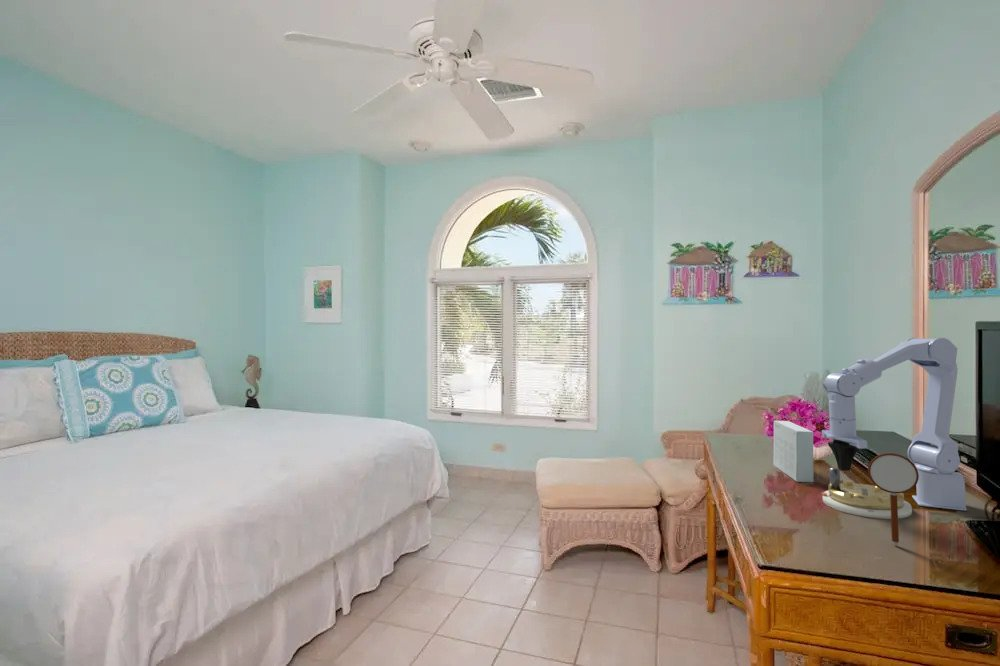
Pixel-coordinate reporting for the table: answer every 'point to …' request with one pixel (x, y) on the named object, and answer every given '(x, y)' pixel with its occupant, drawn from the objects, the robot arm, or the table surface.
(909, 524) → the table surface
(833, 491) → the brass round mechanism
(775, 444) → the skincare box
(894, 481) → the magnifying glass
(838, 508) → the disc
